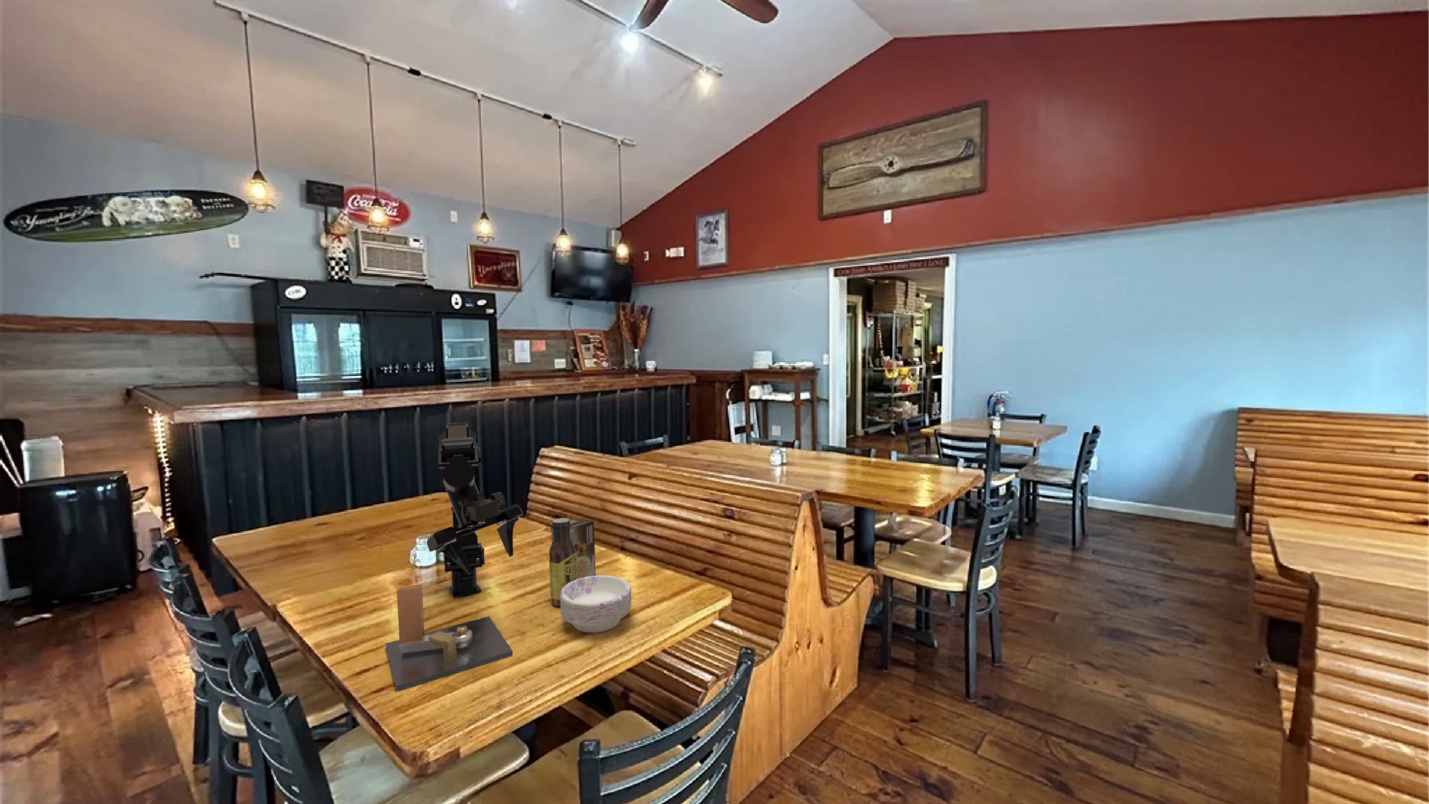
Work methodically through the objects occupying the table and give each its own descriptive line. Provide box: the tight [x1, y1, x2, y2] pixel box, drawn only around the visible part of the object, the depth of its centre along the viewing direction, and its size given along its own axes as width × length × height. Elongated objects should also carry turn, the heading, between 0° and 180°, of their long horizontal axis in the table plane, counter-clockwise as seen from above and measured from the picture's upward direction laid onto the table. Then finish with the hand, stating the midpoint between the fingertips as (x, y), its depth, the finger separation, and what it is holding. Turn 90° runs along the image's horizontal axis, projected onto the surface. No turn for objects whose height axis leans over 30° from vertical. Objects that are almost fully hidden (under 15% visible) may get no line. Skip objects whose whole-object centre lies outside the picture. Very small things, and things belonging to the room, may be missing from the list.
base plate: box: [385, 616, 514, 692], centre depth 112 cm, size 18×20×1 cm
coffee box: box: [550, 517, 597, 579], centre depth 144 cm, size 9×6×16 cm
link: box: [396, 584, 472, 654], centre depth 111 cm, size 13×4×12 cm, turn 105°
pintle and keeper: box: [428, 625, 470, 663], centre depth 110 cm, size 7×8×5 cm
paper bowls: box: [560, 574, 632, 634], centre depth 124 cm, size 15×15×8 cm
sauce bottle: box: [548, 517, 577, 608], centre depth 133 cm, size 7×6×20 cm
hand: (491, 564), depth 117 cm, fingers open, 9 cm apart
